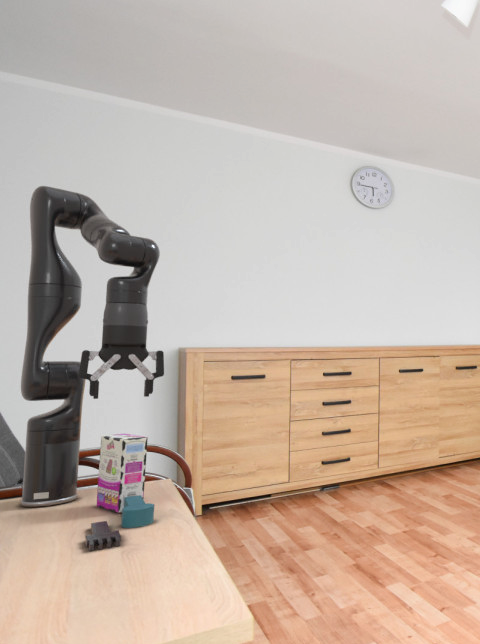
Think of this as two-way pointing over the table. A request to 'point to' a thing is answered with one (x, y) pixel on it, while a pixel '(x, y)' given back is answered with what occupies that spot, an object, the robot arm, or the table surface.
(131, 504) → the teal mallet
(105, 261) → the robot arm
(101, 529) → the fork
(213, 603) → the table surface
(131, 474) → the candy bar box
